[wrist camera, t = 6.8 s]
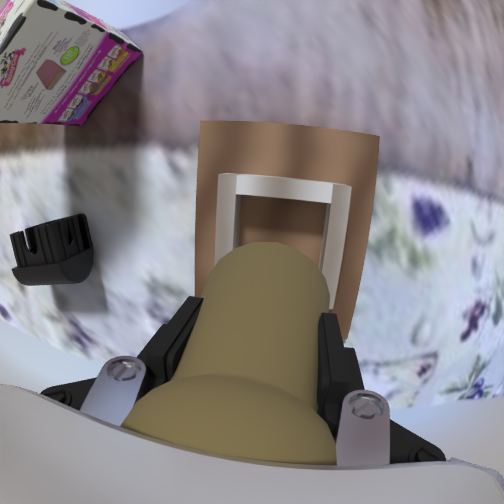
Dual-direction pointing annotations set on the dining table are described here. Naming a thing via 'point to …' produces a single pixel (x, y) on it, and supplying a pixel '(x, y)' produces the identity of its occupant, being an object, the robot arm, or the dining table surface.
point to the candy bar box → (57, 62)
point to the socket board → (287, 198)
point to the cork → (249, 364)
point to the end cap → (54, 252)
